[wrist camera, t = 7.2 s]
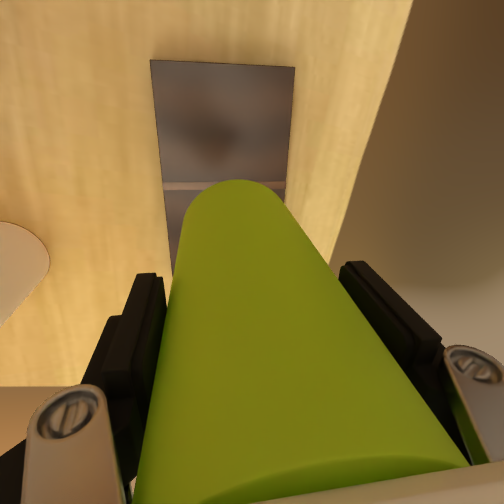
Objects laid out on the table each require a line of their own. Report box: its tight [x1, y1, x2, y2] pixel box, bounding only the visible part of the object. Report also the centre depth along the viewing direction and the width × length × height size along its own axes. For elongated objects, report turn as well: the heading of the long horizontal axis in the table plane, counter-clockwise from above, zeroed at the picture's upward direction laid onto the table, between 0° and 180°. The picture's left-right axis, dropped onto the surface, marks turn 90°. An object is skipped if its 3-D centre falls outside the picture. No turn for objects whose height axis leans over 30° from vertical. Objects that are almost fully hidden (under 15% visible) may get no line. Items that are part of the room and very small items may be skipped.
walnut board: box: [150, 60, 295, 277], centre depth 32 cm, size 22×13×2 cm, turn 178°
